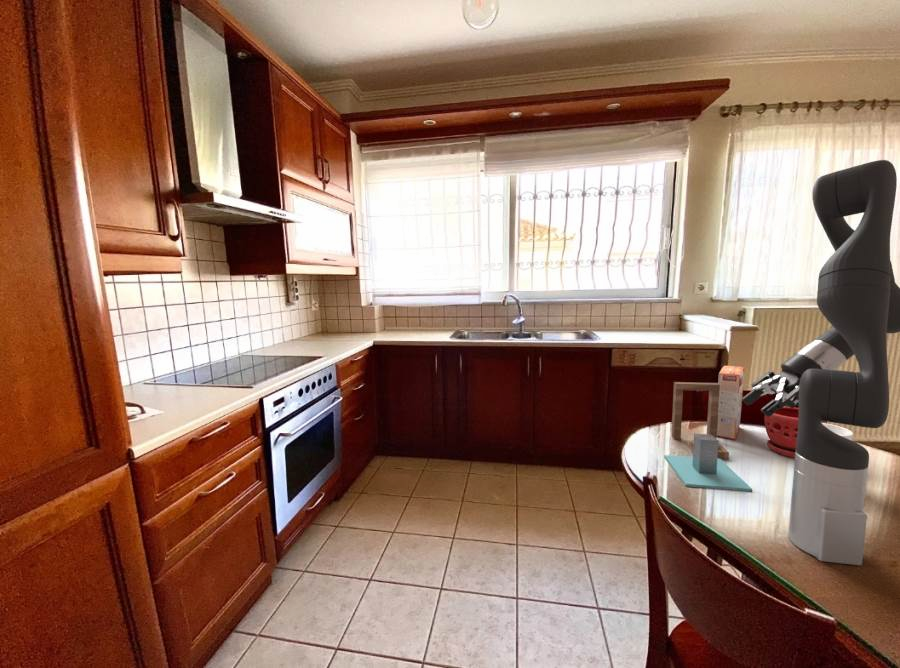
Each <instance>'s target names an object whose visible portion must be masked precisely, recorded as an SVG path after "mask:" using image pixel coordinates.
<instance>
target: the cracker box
mask: <svg viewBox="0 0 900 668" xmlns="http://www.w3.org/2000/svg"><path fill="white" fill-rule="evenodd" d="M744 377H745V367H742V366H735V365H734V366H733V365H723V367H722V368H721V370H720V371H719V373H718V382H717V383H718V384H720V391H719V408H718V425H717V437H719V438H726V439H729V440H735V441H736V439H737V436H738V433H739V430H740V423H741V415H742V414H741V413H742V406H743V405H742V402H743V401H742V398H743V393H744V391H743V390H744V379H745V378H744Z"/></svg>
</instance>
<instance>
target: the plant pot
mask: <svg viewBox="0 0 900 668" xmlns="http://www.w3.org/2000/svg"><path fill="white" fill-rule="evenodd" d="M763 420H764V427H765V432H766V435H767V436H768V440H767V441H766V443H767V446H768V448H769V449H770V450H772V451H774V453H778V454H780V455H783V456H786V457H789V458H794V459H795V453H796V442H797V434H798V421H799V407H794V408H790V407H789V406H787V407H785V408H784V407H782V408H781V409H779V410H778V411H777V412H775V413H774V414H772V415H771V416H769V417H768V416H766V415H765V414H764V419H763ZM821 423H826V424H828V422H827V421H822V422H821Z"/></svg>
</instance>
